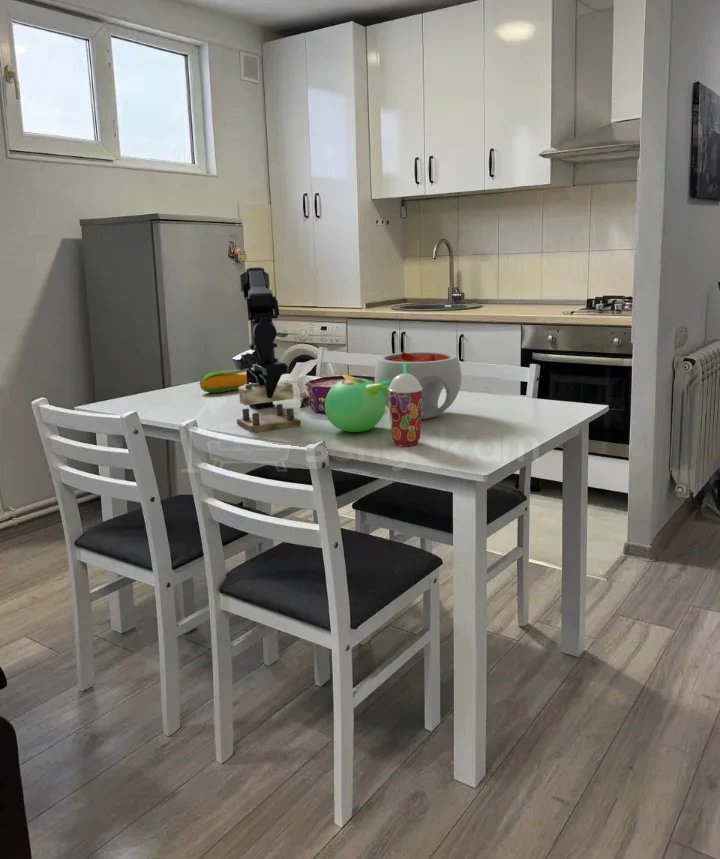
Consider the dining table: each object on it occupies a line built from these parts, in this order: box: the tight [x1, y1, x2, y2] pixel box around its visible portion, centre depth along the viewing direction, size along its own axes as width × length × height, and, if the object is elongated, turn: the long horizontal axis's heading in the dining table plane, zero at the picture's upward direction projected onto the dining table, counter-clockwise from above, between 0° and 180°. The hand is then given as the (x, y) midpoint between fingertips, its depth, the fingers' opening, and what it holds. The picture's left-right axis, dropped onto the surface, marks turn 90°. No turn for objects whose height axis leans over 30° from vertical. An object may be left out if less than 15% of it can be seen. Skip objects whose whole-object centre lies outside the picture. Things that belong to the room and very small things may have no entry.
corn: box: [199, 369, 247, 394], centre depth 263 cm, size 7×8×20 cm
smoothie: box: [388, 362, 423, 447], centre depth 183 cm, size 8×8×20 cm
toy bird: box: [324, 374, 391, 433], centre depth 199 cm, size 18×17×15 cm
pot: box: [374, 351, 462, 420], centre depth 213 cm, size 24×24×18 cm
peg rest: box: [236, 403, 302, 433], centre depth 210 cm, size 14×12×4 cm
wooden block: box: [238, 382, 294, 406], centre depth 208 cm, size 14×4×5 cm, turn 118°
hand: (266, 396), depth 209 cm, fingers closed on wooden block, 4 cm apart
